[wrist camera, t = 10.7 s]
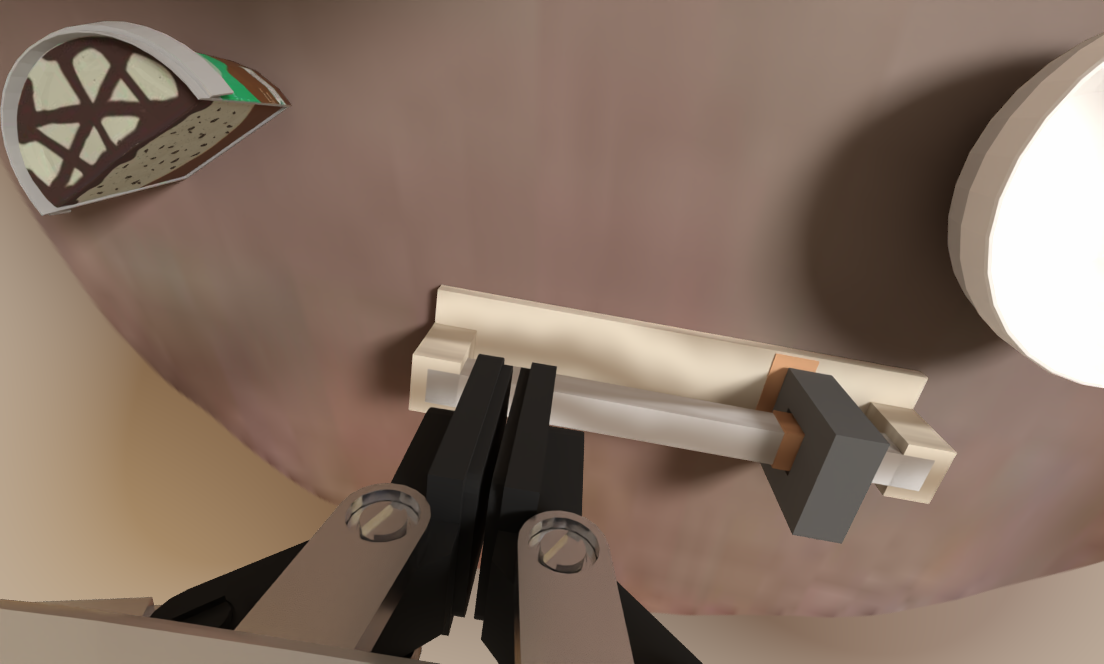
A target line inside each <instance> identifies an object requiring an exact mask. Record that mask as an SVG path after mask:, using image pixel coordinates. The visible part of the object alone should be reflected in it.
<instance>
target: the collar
mask: <svg viewBox="0 0 1104 664" xmlns="http://www.w3.org/2000/svg"><path fill="white" fill-rule="evenodd" d="M773 410H776V411H781V412H787V413H792V414H793V416H794V418H795V419H796V421H797V422H798V424H799V426H800V427H801V429H802V431H803V432H804V434H805V436H804V438H803V441H802V443H801V445H800V448H799V450H798V453H797V455H796V457H795V460H794V462H793V465H792V467H791V470H790V471H786V470H780V469H775V468H772V467H771V464H766V463H761V466H762V468H763V470H764V472H765V475H766V477H767V479H768V481H769V483H770V486H771V488H772V490H773V492H774V495H775V497H776V499H777V501H778V504H779V506H780V508H781V510H782V512H783V515H784V517H785V519H786V521H787V524H788V526H789V528H790V530H791V533H792V535H797V536H803V537H808V538H814V539H819V540H825V541H830V542H836V543H841V544H842V542H843V540H844V538H845V536H846V534H847V532H848V530H849V528H850V526H851V524H852V522H853V520H854V517H855V515H856V513H857V511H858V509H859V507H860V505H861V503H862V501H863V499H864V497H865V495H866V493H867V491H868V489H869V487H870V485H871V483H872V481H873V479H874V477H875V475H876V473H877V470H878V468H879V466H880V464H881V462H882V460H883V458H884V456H885V454H886V452H887V450H888V448H889V446H890V444H889V442H888V441H887V440H886V439H885V438H884V437H883V435H882V434H881V433H880V432H879V431H878V429H877V428H876V427H875V426H874V425H873V423H872V422H871V421H870V420H869V419H868V418H867V416H866V415H865V414H864V413H863V412H862V410H861V409H860V408H859V407H858V406H857V404H856V403H855V402H854V401H853V400H852V399H851V397H850V396H849V395H848V394H847V393H846V391H845V390H844V389H843V388H842V387H841V385H840V384H839V383H838V382H837V381H836V380H835V378H834V377H833V376H832V375H827V374H821V373H816V372H810V371H805V370H799V369H794V368H788V371H787V374H786V376H785V379H784V382H783V384H782V387H781V390H780V392H779V395H778V398H777V400H776V403H775V405H774V408H773ZM772 413H773V411H772Z"/></svg>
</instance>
